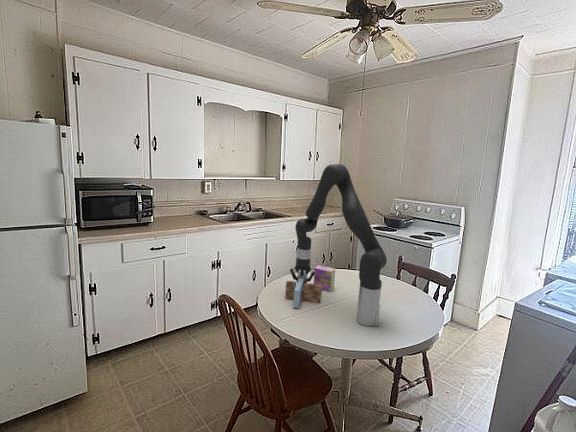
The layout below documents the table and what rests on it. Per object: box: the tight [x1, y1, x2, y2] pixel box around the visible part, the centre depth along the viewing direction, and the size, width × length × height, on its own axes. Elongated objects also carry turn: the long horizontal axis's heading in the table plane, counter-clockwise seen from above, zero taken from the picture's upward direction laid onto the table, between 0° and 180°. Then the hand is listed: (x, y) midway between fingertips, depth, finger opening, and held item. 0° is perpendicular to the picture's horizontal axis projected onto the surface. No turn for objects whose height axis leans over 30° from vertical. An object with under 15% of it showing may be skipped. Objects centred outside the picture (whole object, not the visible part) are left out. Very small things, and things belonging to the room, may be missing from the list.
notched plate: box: [292, 275, 305, 309], centre depth 158 cm, size 20×2×9 cm, turn 169°
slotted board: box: [284, 280, 323, 304], centre depth 157 cm, size 18×2×9 cm, turn 79°
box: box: [313, 264, 336, 293], centre depth 173 cm, size 10×6×12 cm, turn 62°
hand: (301, 287), depth 165 cm, fingers closed
